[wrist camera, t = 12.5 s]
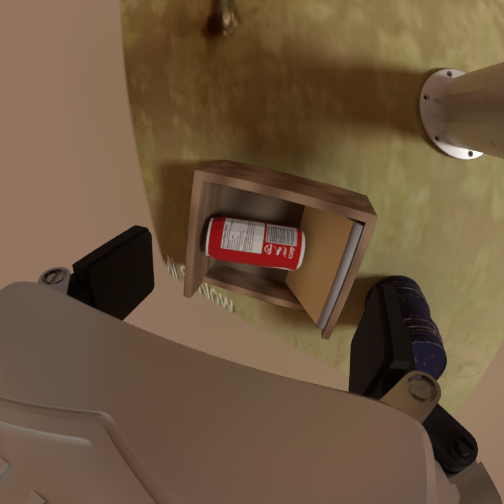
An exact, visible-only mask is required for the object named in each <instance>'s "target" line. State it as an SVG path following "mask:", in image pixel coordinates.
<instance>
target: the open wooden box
mask: <svg viewBox="0 0 504 504" xmlns="http://www.w3.org/2000/svg"><path fill="white" fill-rule="evenodd" d="M305 205H306V206H310V207H314V208H317V209H321V210H325V211H328V212H332V213H335V214H339V215H342V216H345V217H349V218H352V219H355V220H357V221H358V222H360V223H362V224H363V225H364V227H363V230H362V233H361V236H360V239H359V242H358V245H357V248H356V250H355V253H354V256H353V259H352V262H351V264H350V267H349V270H348V272H347V275H346V278H345V280H344V283H343V285H342V288H341V291H340V293H339V296H338V298H337V301H336V303H335V305H334V308H333V310H332V313H331V315H330V317H329V320H328V322H327V324H326V327H325V328H324V329H322V336H321V338H323V339H327V340H329V338H330V336H331V334H332V331H333V329H334V327H335V325H336V323H337V320H338V318H339V316H340V314H341V311H342V309H343V307H344V304H345V302H346V300H347V297H348V295H349V292H350V290H351V288H352V285H353V283H354V280H355V278H356V275H357V272H358V270H359V267H360V265H361V262H362V259H363V257H364V254H365V251H366V249H367V246H368V243H369V240H370V237H371V234H372V232H373V229H374V226H375V223H376V220H377V217H378V216H377V214H376V212H375V211H374V209H373V207H372V205H371V203H370V201H369V199H368V197H367V196H366V195H363V194H360V193H356V192H353V191H350V190H346V189H343V188H339V187H336V186H332V185H329V184H325V183H322V182H318V181H314V180H310V179H307V178H303V177H299V176H295V175H291V174H287V173H283V172H278V171H274V170H270V169H265V168H261V167H257V166H252V165H247V164H243V163H238V162H233V161H228V160H222V161H219V162H216V163H213V164H210V165H207V166H204V167H201V168H199V169H196V170H194V178H193V186H192V195H191V205H190V215H189V225H188V237H187V249H186V262H185V278H184V296H185V297H188V298H191V296H192V295H193V294H194V293H195V291H196V290H197V289H198V288H199V286H200V285H201V284H202V283H203V282H205V283H208V284H211V285H214V286H217V287H221V288H224V289H227V290H230V291H234V292H237V293H240V294H243V295H247V296H250V297H253V298H257V299H260V300H263V301H267V302H270V303H274V304H277V305H281V306H284V307H288V308H291V309H295V310H298V311H302V312H305V313H307V311H306V310H305V309H304V307H303V306H302V304H301V303H300V302H299V300H298V299H297V298H296V296H295V295H294V294H293V292H292V291H291V290H290V288H289V287H288V285H287V284H286V283H285V280H286V277H287V273H288V270H284V269H277V268H270V267H263V266H255V265H248V264H241V263H234V262H227V261H220V260H216V259H214V258H212V257H209V256H206V240H207V233H208V228H209V223H210V220H211V218H220V217H228V218H236V219H243V220H250V221H256V222H263V223H270V224H276V225H283V226H289V227H296V228H300V224H301V220H302V216H303V213H304V209H305Z"/></svg>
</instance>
